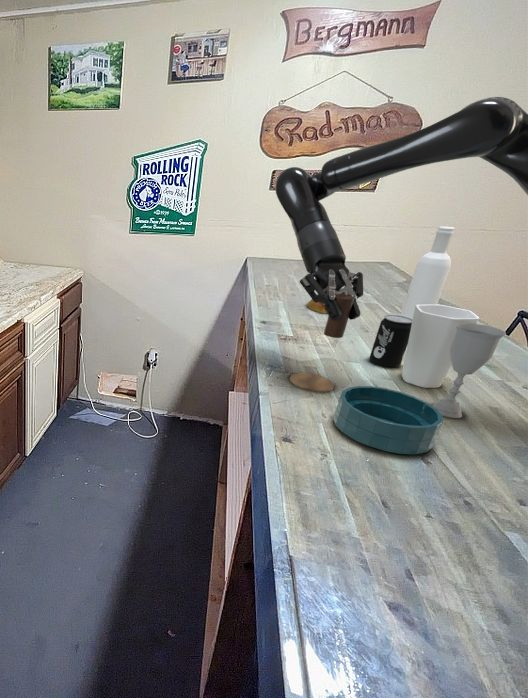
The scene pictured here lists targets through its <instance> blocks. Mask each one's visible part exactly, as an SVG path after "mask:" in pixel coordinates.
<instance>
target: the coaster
mask: <svg viewBox="0 0 528 698" xmlns="http://www.w3.org/2000/svg"><path fill="white" fill-rule="evenodd" d="M289 381H290V382H291V383H292V384H293V385H294V386H296V387H297V388H300V389H303V390H307V391H311V392H317V393H326V392H327V393H328V392H331V391H333V390H334V389H335V383H334V382H333V381H332V380H330V379H329V378H327V377H325V376H322V375H319V374H315V373H310V372H295V373H292V374H291V375H290V376H289Z"/></svg>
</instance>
